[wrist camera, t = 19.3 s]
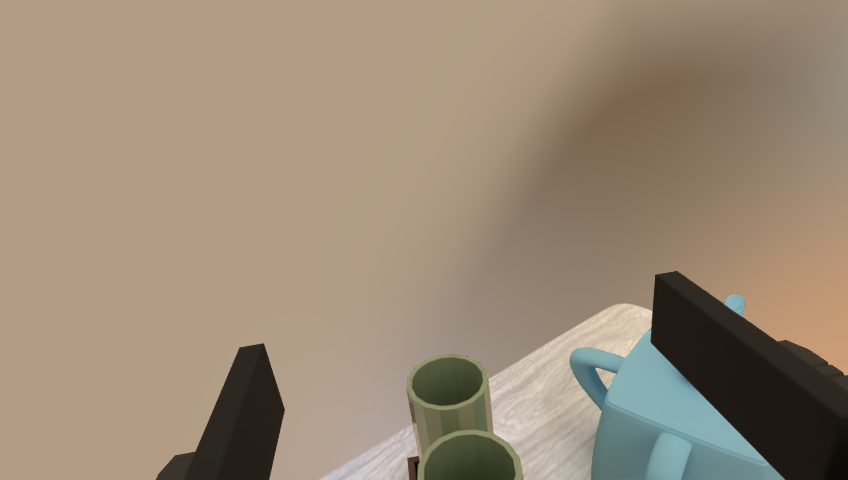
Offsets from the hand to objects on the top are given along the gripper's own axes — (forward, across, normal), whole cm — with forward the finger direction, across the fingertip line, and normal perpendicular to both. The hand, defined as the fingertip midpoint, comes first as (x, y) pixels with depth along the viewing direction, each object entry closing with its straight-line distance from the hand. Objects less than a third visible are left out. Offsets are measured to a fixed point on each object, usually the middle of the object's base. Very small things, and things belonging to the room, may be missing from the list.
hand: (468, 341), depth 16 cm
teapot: (+14, +20, -28) cm, 37 cm away
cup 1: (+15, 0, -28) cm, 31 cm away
